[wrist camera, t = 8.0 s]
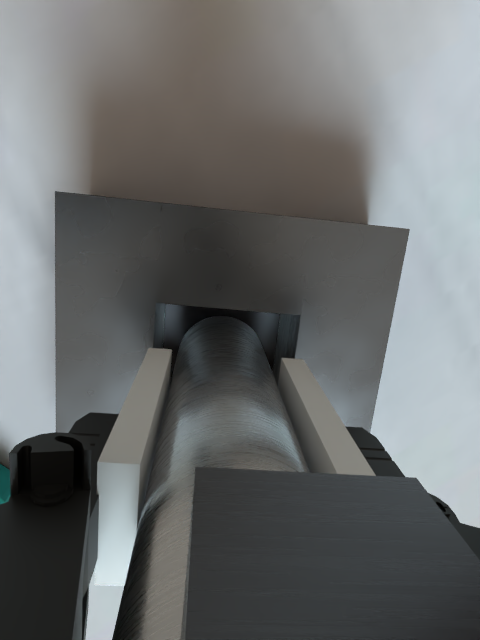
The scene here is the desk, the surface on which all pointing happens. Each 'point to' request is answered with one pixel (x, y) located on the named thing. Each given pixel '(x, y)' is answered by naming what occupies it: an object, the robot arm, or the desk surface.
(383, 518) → the t key
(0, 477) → the digital multimeter
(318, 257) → the block
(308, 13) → the desk surface
